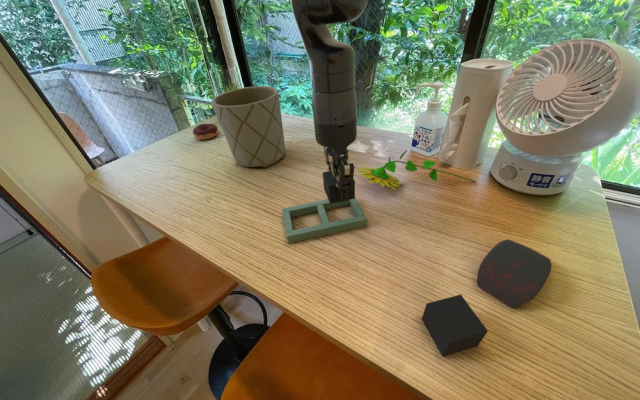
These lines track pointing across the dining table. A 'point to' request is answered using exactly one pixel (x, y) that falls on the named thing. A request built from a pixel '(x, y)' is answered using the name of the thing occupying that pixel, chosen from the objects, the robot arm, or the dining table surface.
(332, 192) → the black near-cubic block
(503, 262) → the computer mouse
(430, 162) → the flower
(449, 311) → the black block
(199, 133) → the donut
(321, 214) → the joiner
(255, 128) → the planter
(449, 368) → the dining table surface
